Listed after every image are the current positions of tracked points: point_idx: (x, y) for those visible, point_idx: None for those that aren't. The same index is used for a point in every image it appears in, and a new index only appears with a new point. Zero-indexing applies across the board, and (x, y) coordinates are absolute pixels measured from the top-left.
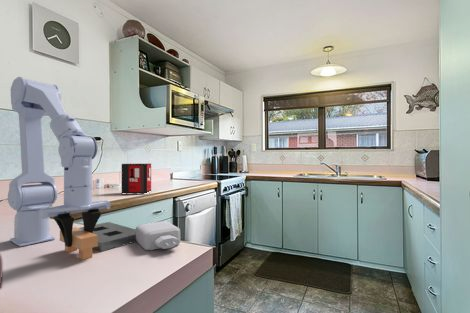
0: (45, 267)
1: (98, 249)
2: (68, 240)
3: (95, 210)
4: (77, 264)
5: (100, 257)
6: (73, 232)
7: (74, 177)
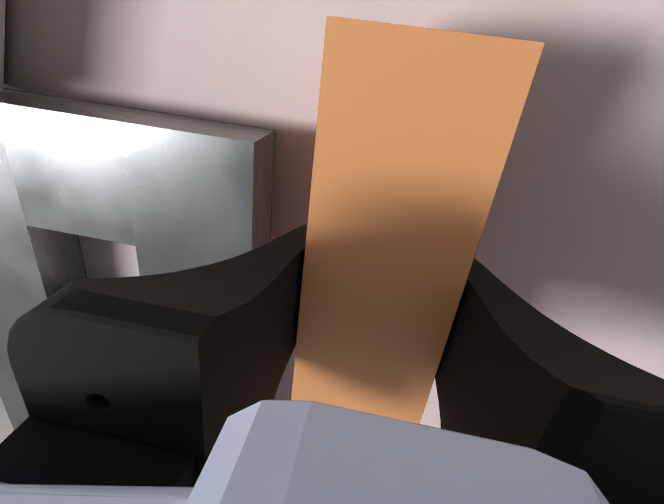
0: (647, 188)
1: (271, 174)
2: (491, 273)
3: (67, 448)
4: (531, 24)
5: (349, 4)
6: (389, 361)
7: None
